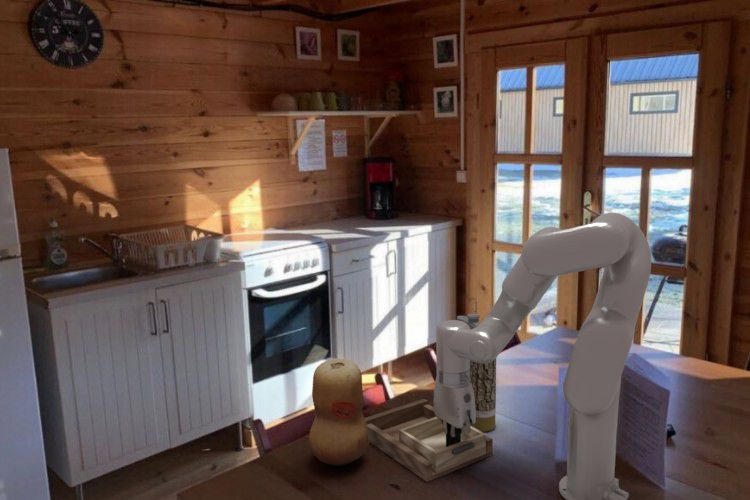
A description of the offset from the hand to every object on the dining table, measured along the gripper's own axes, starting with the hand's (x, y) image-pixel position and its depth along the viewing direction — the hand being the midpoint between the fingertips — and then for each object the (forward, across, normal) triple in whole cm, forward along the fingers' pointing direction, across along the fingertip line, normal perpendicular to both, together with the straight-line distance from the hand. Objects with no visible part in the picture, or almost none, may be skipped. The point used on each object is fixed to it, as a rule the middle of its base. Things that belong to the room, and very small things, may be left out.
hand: (453, 449), depth 153 cm
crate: (+2, +4, 0) cm, 4 cm away
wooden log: (+4, +9, -18) cm, 21 cm away
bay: (+4, +10, 0) cm, 11 cm away
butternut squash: (+4, +16, +21) cm, 27 cm away
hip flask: (+4, +36, -39) cm, 53 cm away
